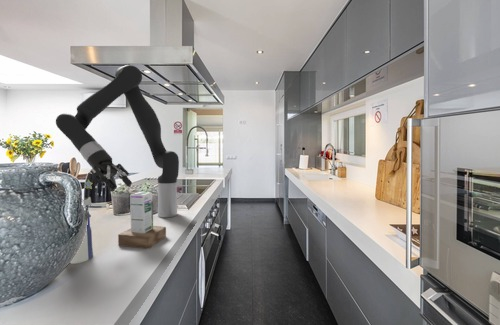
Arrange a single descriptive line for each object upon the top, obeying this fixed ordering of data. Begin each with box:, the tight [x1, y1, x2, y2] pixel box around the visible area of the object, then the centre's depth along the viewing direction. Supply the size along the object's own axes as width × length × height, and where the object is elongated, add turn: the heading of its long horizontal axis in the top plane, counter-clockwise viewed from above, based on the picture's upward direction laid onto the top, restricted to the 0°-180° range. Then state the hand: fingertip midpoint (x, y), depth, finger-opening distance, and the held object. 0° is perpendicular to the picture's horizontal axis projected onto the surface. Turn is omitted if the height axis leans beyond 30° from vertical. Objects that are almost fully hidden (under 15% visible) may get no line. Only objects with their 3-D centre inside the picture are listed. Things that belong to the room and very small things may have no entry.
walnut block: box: [117, 225, 167, 249], centre depth 97 cm, size 12×12×4 cm
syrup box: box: [129, 191, 154, 234], centre depth 97 cm, size 6×6×14 cm
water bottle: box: [70, 179, 94, 265], centre depth 81 cm, size 8×9×25 cm
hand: (122, 186), depth 98 cm, fingers open, 8 cm apart
